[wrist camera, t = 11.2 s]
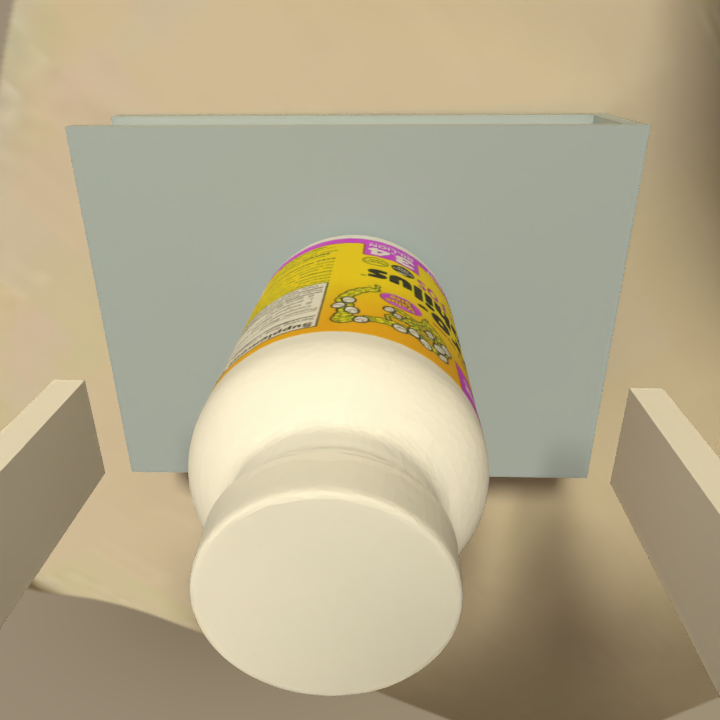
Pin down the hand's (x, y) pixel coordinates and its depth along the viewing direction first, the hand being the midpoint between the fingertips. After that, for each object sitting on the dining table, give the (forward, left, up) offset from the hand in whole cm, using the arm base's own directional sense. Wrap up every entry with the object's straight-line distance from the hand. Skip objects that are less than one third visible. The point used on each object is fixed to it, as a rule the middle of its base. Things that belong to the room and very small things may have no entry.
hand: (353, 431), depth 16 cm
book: (0, 0, -12) cm, 12 cm away
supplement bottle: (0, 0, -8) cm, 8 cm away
